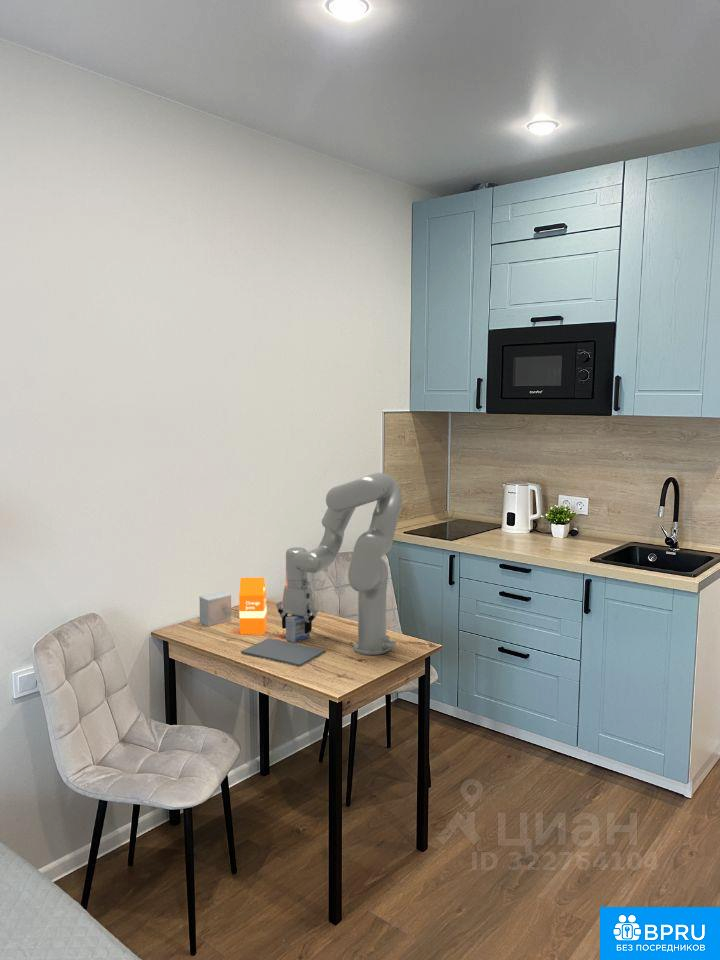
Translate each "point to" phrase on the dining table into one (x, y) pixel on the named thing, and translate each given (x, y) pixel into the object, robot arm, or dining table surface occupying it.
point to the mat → (283, 651)
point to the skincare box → (215, 608)
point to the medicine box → (295, 628)
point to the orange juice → (252, 606)
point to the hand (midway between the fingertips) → (296, 629)
